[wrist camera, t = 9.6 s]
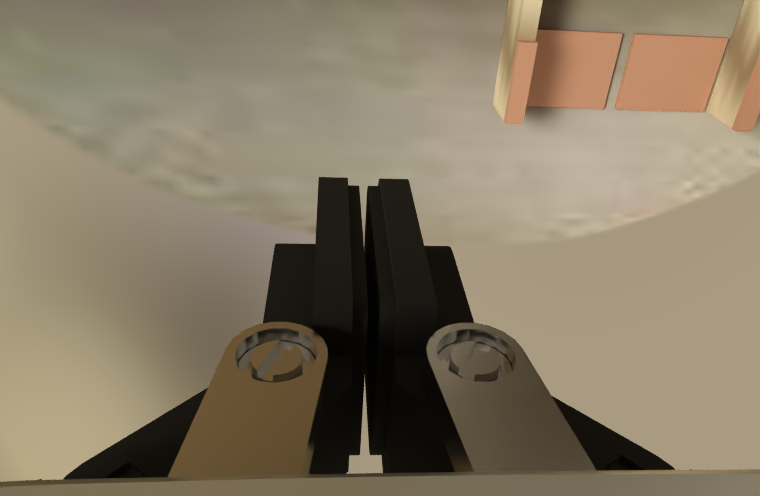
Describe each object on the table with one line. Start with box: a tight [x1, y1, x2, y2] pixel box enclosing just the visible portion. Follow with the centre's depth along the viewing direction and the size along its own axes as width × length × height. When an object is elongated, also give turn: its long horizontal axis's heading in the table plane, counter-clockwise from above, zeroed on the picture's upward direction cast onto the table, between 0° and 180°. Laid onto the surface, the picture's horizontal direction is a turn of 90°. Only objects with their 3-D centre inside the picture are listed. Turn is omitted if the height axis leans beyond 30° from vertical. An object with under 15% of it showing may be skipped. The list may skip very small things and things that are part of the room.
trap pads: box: [504, 29, 760, 132], centre depth 37 cm, size 5×15×4 cm, turn 87°
